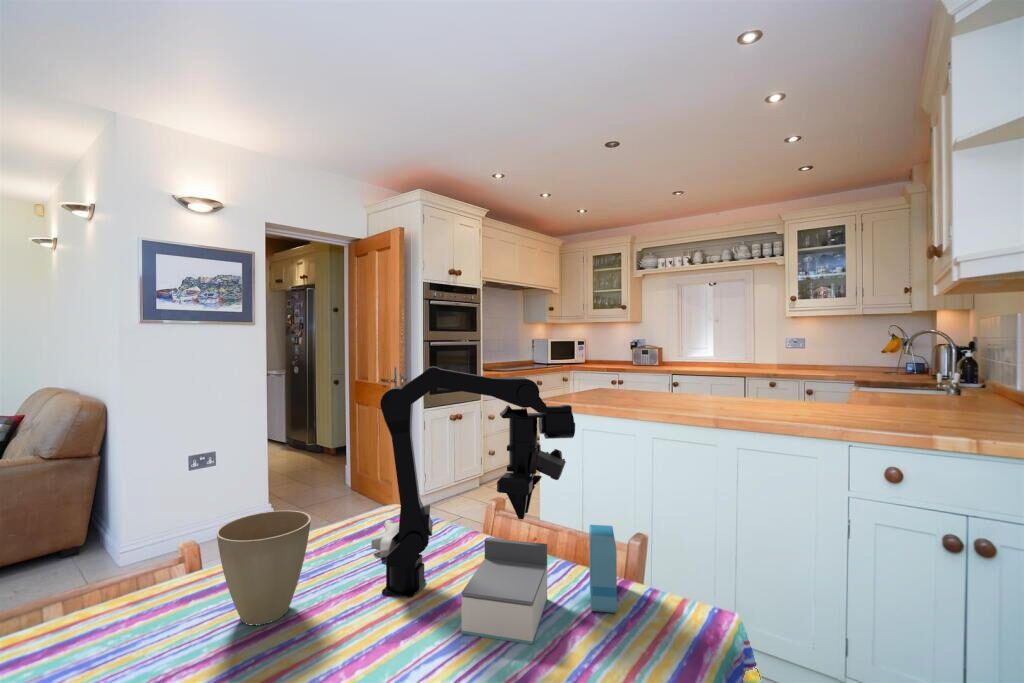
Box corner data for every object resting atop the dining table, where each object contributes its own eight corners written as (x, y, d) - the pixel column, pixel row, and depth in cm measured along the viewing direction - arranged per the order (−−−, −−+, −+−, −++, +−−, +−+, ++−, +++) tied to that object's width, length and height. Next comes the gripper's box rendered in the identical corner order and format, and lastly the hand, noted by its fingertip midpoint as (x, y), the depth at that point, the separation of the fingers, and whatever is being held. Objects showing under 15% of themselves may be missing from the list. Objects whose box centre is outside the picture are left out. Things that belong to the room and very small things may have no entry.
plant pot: (328, 602, 88) (328, 516, 88) (255, 649, 74) (255, 547, 74) (273, 585, 94) (273, 505, 94) (196, 625, 80) (196, 531, 81)
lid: (461, 595, 78) (461, 571, 78) (486, 558, 92) (486, 537, 92) (532, 604, 75) (532, 579, 75) (547, 565, 89) (547, 544, 89)
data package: (616, 616, 83) (616, 548, 83) (590, 614, 84) (590, 547, 84) (612, 582, 95) (612, 523, 95) (589, 581, 96) (589, 522, 96)
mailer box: (461, 633, 78) (461, 597, 78) (486, 590, 92) (486, 559, 92) (532, 644, 75) (532, 606, 75) (547, 598, 89) (547, 566, 89)
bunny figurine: (366, 544, 104) (381, 512, 119) (367, 566, 105) (381, 531, 119) (410, 543, 105) (419, 511, 119) (410, 565, 105) (419, 531, 120)
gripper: (555, 451, 85) (555, 537, 85) (568, 433, 103) (568, 504, 103) (496, 448, 88) (496, 531, 88) (519, 430, 106) (518, 500, 106)
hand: (523, 515), depth 96 cm, fingers open, 3 cm apart
